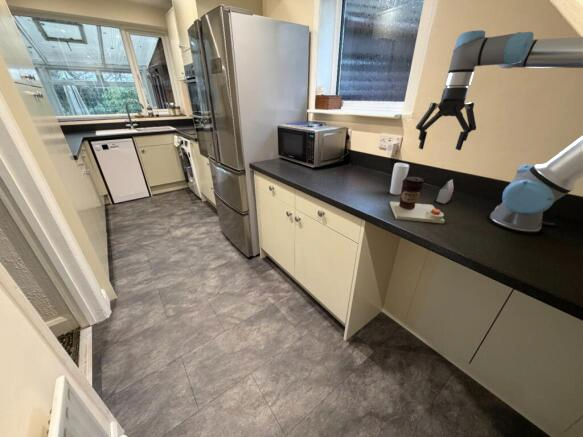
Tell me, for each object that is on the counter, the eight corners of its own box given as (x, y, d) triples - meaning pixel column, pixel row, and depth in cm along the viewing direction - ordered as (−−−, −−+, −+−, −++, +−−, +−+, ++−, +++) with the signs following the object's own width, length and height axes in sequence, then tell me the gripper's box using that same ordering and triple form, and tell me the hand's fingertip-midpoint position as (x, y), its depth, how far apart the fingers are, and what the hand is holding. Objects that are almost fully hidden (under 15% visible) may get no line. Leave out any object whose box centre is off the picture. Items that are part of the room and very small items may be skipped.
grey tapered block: (436, 201, 111) (442, 181, 106) (441, 197, 115) (448, 178, 110) (444, 203, 109) (451, 183, 104) (449, 200, 113) (456, 180, 108)
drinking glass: (402, 196, 116) (410, 167, 109) (388, 194, 118) (394, 165, 111) (401, 191, 122) (408, 163, 114) (387, 190, 123) (394, 162, 116)
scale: (431, 207, 105) (433, 201, 104) (443, 223, 92) (446, 216, 91) (389, 204, 108) (391, 198, 107) (396, 219, 95) (397, 212, 94)
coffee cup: (419, 212, 97) (428, 182, 91) (398, 210, 99) (406, 181, 93) (414, 203, 105) (422, 176, 99) (394, 202, 106) (401, 174, 100)
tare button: (437, 212, 95) (439, 208, 94) (440, 215, 92) (441, 212, 92) (429, 211, 95) (431, 208, 95) (432, 214, 93) (433, 211, 92)
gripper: (489, 87, 83) (469, 148, 93) (415, 88, 87) (403, 146, 97) (502, 86, 77) (479, 151, 86) (422, 87, 80) (408, 150, 90)
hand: (439, 149), depth 92 cm, fingers open, 13 cm apart
